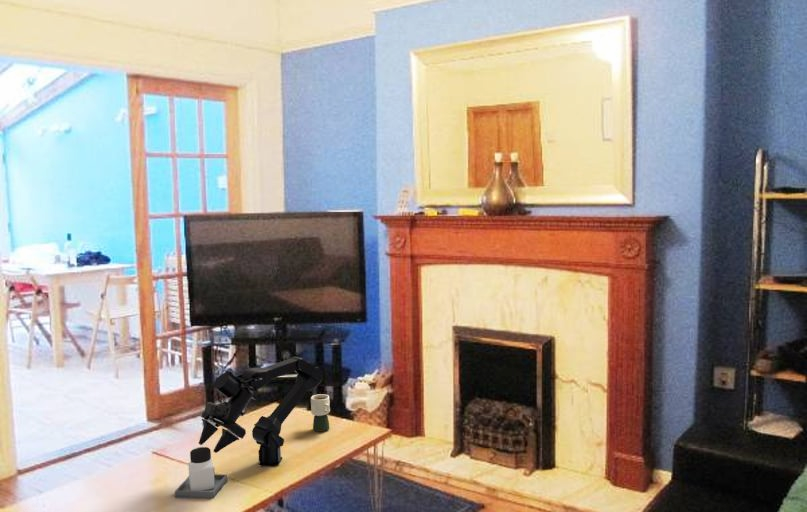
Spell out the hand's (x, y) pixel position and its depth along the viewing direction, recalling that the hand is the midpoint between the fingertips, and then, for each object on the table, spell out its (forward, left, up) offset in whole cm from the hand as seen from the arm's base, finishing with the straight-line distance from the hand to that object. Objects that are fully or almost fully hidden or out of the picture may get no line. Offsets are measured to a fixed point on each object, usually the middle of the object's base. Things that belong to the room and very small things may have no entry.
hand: (207, 448), depth 205 cm
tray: (+2, +2, -12) cm, 13 cm away
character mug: (-25, -48, -13) cm, 56 cm away
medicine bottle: (+1, +2, -12) cm, 12 cm away
